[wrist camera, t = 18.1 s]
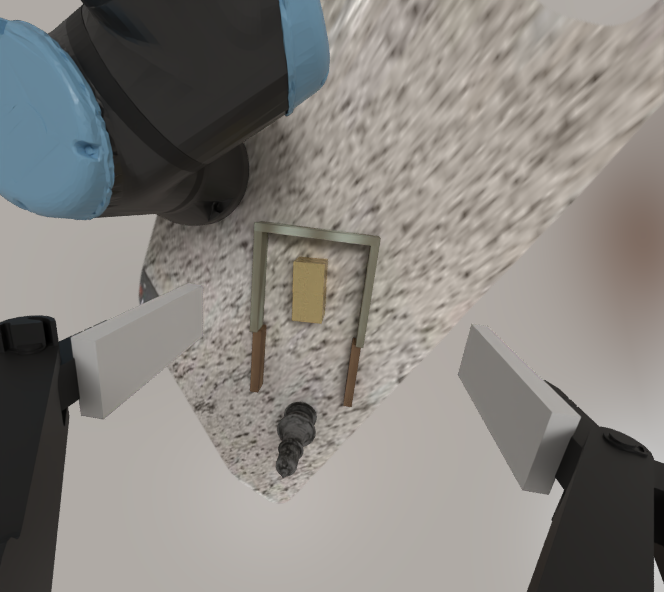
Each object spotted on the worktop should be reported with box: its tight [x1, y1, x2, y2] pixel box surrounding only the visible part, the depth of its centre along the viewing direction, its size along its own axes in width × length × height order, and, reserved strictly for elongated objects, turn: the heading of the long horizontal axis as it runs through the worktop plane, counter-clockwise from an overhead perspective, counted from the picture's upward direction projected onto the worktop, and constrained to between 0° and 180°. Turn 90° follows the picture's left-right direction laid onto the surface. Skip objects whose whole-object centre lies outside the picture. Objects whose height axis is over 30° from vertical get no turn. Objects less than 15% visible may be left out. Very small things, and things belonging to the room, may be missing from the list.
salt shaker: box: [276, 402, 317, 478], centre depth 45 cm, size 6×6×12 cm
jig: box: [250, 221, 380, 407], centre depth 45 cm, size 16×25×3 cm, turn 173°
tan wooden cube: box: [292, 287, 327, 324], centre depth 44 cm, size 4×4×4 cm
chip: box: [292, 257, 328, 295], centre depth 42 cm, size 4×4×4 cm
